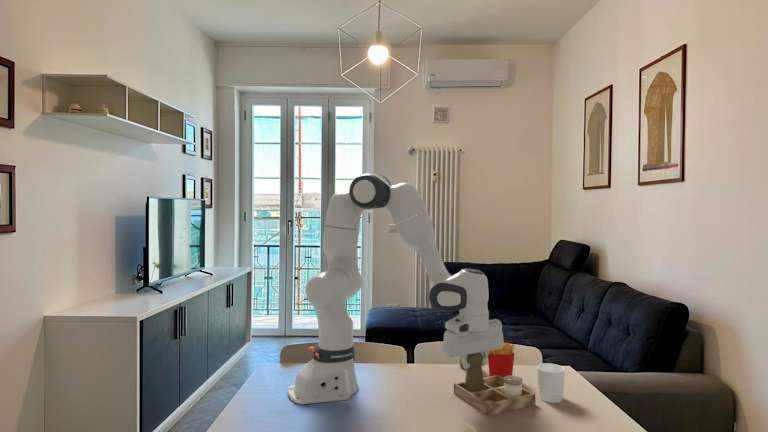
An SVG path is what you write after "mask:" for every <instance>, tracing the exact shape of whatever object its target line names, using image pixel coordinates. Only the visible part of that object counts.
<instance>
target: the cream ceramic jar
mask: <svg viewBox="0 0 768 432" xmlns="http://www.w3.org/2000/svg"><path fill="white" fill-rule="evenodd" d="M522 388H523V378H522V377H521V376H518V375H513V374H512V375H510V376H505V377H504V394H505V395H506V396H508V397H510V398H515V397H520V396H522Z"/></svg>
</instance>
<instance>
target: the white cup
mask: <svg viewBox="0 0 768 432" xmlns="http://www.w3.org/2000/svg"><path fill="white" fill-rule="evenodd" d="M565 370H566V369H565V367H563V366H562V365H559V364H555V363H552V362H551V363H550V362H549V363H548V362H546V363H544V362H543V363H539V364H537V365H536V372H537V373H536V374H537V387H538V398H539V399H540V400H541V401H544V402H546V403H552V404H557V403H561V402H563V396H564V391H565V390H564V389H565V388H564V387H565V374H566V373H565Z"/></svg>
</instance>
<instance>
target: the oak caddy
mask: <svg viewBox="0 0 768 432" xmlns="http://www.w3.org/2000/svg"><path fill="white" fill-rule="evenodd" d="M483 379H484V387H485V389H484V390H482V391H469V390H467V389H465V381H461V382H455V383H453V394H454V395H455V396H457V397H459V398H460V399H461V400H463V401H465V402H466V403H467V404H469V405H471V406H472V407H474V409H477V410H478V411H479V412H481V413H482V414H484V415H485V416H486V417H488V416H493V415H499V414H502V413H505V412H509V411H513V410H519V409H522V408H527V407H530V406H531V407H532V406H534V405H536V394H535V393H533V392H532V391H530V390H528V389H526V388H524V387H522V396H520V397H515V398H510V397H508V396H506V395H505V394H504V378H503V377H501V376H499V375H496V376H490V375H489V376H486V377H483Z"/></svg>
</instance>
